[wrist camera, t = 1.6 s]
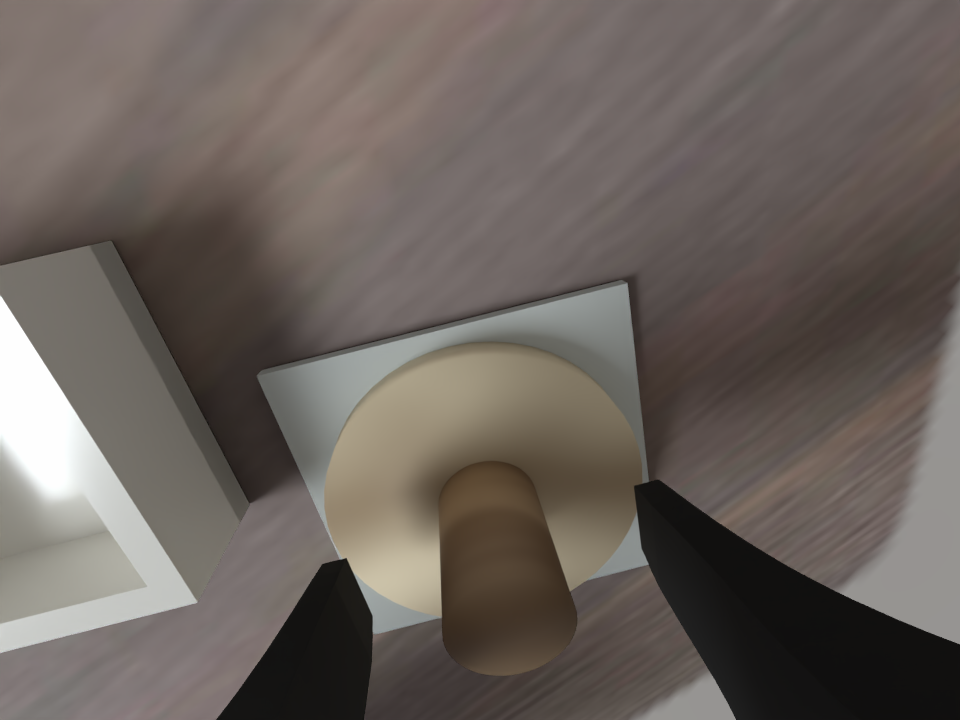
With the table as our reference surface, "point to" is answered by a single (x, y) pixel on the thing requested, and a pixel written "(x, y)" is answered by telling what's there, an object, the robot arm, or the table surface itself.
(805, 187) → the table surface
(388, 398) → the lid
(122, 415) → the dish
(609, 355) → the mat
